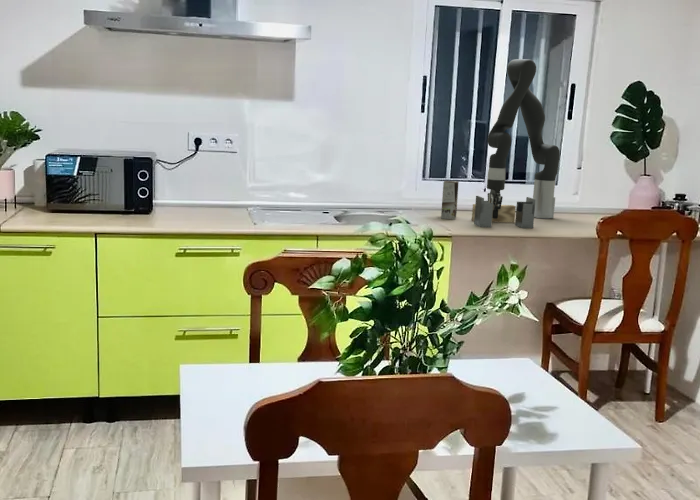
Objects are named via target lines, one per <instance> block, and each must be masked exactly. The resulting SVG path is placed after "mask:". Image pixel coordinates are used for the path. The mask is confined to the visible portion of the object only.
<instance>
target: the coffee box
mask: <svg viewBox="0 0 700 500" xmlns="http://www.w3.org/2000/svg"><path fill="white" fill-rule="evenodd" d="M459 183H460V182H459V180H458V181H457V180H444V181H443V184H442V186H443V187H442V199H441V214H440V218H441V219H442V220H443V219H445V220H456V218H457V212H458V211H457V210H458V196H459Z"/></svg>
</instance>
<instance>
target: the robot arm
mask: <svg viewBox="0 0 700 500" xmlns="http://www.w3.org/2000/svg"><path fill="white" fill-rule="evenodd" d="M506 69H507V70H506V71H507V76H508V79H509V81H510V84H511V86H512V89H513V90H512V92H511V94H510V95H509V96H508V97H507V98H506V100H505V101H504V102H503V104H502V106H501V108H500V111H499V114H498V117H497V120H496V121H495V123H494V125H493V126H492V128H491V130H490V131H489V133H488V135H487V144H488V146H489V147H490V148H493V149H496V151H495V153H492V154H490V156H489V160H488V161H489V163H488V171H487V181H486V188H487V190H490V192H487V193H486V194H487V201H488V203H493V215H492V218H493V219H497V218H498V210H499V209H501V205H503V204H502V203H503V199H504V198H503V195H501V194H502V193H501V191H504V190H505V185H506V173H507V172H506V167H507V166H506V165H507V164H506V163H507V159H508V158H507V157H508V155H509V152H510V148H511V146H512V137H511V135H510V134H509V132H506V130H508V129H509V130H510V129H511V128H512V127H513V126H514V123H515V121H516V116H517V114H518V112H519V110H520V112H521V115H522V119H523V122H524V124H525V128H526V131H527V137H528V140H529V145H530V151H531V155H532V159H533V161H534V162H535V163H536V164H538V165H544V167H543V169H542V170H540V171H538V172H536V173H535V174H534V181H533V182H534V183H533V195H532V198H533V199H536V201H535V213H534V218H537V219H555V218H554V215H555V204H556V197H555V188H556V187H555V186H556V178H557V176H558V171H559V166H560V165H559V164H560V157H561V152H560V148H559V147H558V146H557V145H555V144H545V143H544V140H543V137H542V132H543V128H544V125H545V121H546V115H545V110H544V107H543V104H542V102H541V101H540V99H539V98H538V97H537V96H536V95H535V93H534V92H533V91H532V90H531V89H530V86H531V84H532V83H533V80H534V78H535V75H536V73H537V65H536V62H535V61H534V60H533V59H529V58H525V59H524V58H523V59H522V58H520V59H519V58H518V59H516V58H515V59H511V61H509V62H508V65H507V68H506Z"/></svg>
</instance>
